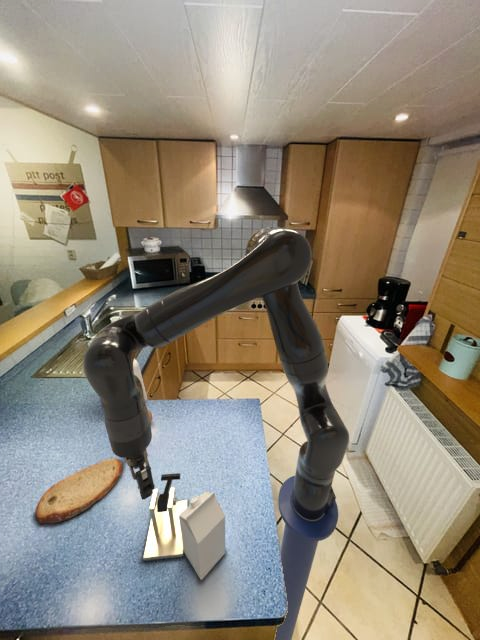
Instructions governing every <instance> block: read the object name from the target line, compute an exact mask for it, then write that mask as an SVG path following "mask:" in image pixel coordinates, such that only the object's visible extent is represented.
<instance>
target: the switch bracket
mask: <svg viewBox="0 0 480 640" xmlns="http://www.w3.org/2000/svg"><path fill="white" fill-rule="evenodd" d="M152 492H153V493H152V495H151V499H150V501H149V513H150V514H149V515H150V522H149V527H148V530H147V531H148V532H147V536H146V542H145V546H144V551H143V557H142V560H143V561H144V562H145V561H155V560H165V559H173V558H182V557H184V550H183V543H182V535H181V528H180V520H179V514H181V513H182V512H183V511H184V510H185V509H186V508H187V507H188V506H189V502H188V501H189V500H188V499H181V500H177V496H176V494H177V493H176V488H175V487H170V491H169V501H168V509H167V512H157V501H158V498H159V495H160V493H159V489H158V488H155V489H154V490H152Z"/></svg>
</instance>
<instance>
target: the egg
mask: <svg viewBox="0 0 480 640" xmlns="http://www.w3.org/2000/svg"><path fill="white" fill-rule="evenodd" d="M147 410H148V415H149V421H150V424H151V423H152V420H153V414H152V412H151V411H150V410H149V409H148V408H147Z"/></svg>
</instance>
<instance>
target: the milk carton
mask: <svg viewBox="0 0 480 640" xmlns="http://www.w3.org/2000/svg"><path fill="white" fill-rule="evenodd" d="M179 520H180V528H181V535H182V543H183V554H185V557H186V558H187V559H188V561H189V563H190V565H191V567H193V569H194V572H196V574H197V576H198V578H199V579H200V580H201V581H202V580H204V578H205V577H206V576H207V575H208V574H209V572H211V570H212V569H213V568H214V567H215V566H216V565H217V563H218V562H219V561H220V560H221V558H222V557H224V555H225V554H226V515H225V513H224V511H223V508H222V507H221V505H220V502H219V501H218V499H217V496H216V493H215V491H213V492H208V491H204V492H203V493H202V494H201V495H200V496H199V495H196V496H194V497H192V498H191V500H190V501H189V504H188V506H187V508H186V509H185V510H184V511H183V512H182V513H181V514H179Z"/></svg>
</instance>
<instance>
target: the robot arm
mask: <svg viewBox="0 0 480 640" xmlns="http://www.w3.org/2000/svg"><path fill="white" fill-rule="evenodd" d="M312 259H313V253H312V247H311V244H310V242H309V239H307V238H306V237H305V236H304V235H303V234H302V233H301V232H299V231H297V230H295V229H291V228H289V227H288V228H287V227H281V226H280V227H278V226H266V227H262V228H260V229H258V230H255V232H254V233H252V234H251V236H250V238H249V239H248V241H247V243H246V246H245V253H244V256H243V257H241V259H239V260H238V261H237V262H235V263H233V264H232V265H231V266H229V267H227V268H225V269H223V270H222V271H220V272H218V273H215V274H214V275H211V276H210V277H207V278H205V279H201V280H199V281H197V282H194V283H192V284H189V285H186V286H184V287H181V288H179V289H177V290H174V291H173V292H171V293H169V294H167V295H165V296H163V297H162V298H160V299H158V300H157V301H155V302H153V303H152V304H150V305H148V306H146V307H145V308H144V309H142V310H141V311H139V312H135V313H132V314H129V315H127V316H125V317H122V318H119V319H116V320H115V321H112V322H111V323H109V324H108V325H106V326H104V327H103V328H101V330H99V331H98V332H97V334H95V336H94V338H93V340H92V341H91V343H90V344H89V346H88V347H87V349H86V350H85V353H84V354H83V355H84V356H83V361H82V362H83V363H82V364H83V371H84V375H85V378H86V379H87V381H88V383H89V385H90V386H91V388H92V389H93V390H94V392H95V394H96V395H97V396H98V397H99V400H100V404H101V408H102V412H103V416H104V425H105V426H104V427H105V429H106V433H107V437H108V440H109V444H110V447H111V451H112V453H113V454H114V455H115V456H117V457H118V458H123V459H125V462H126V465H127V467H129V471H130V473H131V477H132V479H133V480H134V481H136V484H137V490H139V495H140V498H141V500H146V499H148V498H150V497H152V495H153V490H154V489H156V486H155V483H154V478H153V474H152V467H151V465H150V462H149V459H148V457H149V454H148V451H147V448H148V447H149V445H150V444H151V441H152V439H153V433H152V427H151V423H150V421H149V415H148V410H149V409H148V407H147V404H146V401H145V400H144V394H143V389H142V385H141V382H140V380H139V378H138V377H137V376H135V375H134V371H133V361H134V359H135V357H136V354H137V353H138V352H140V351H142V350H143V349H144V348H147V347H150V348H152V349H160V348H163V347H165V346H167V345H170V344H171V343H173V342H175V341H177V340H178V339H180V338H182V337H183V336H185V335H186V334H189V333H190V332H191V331H194V330H195V329H197V328H199V327H200V326H202V325H204V324H206V323H208V322H210V321H211V320H213V319H216V318H218V317H219V316H222V315H223V314H225V313H228V312H229V311H232V310H234V309H235V308H238V307H240V306H243V305H245V304H247V303H250V302H252V301H254V300H257V299H260V298H261V299H262V301H263V304H264V307H265V310H266V314H267V317H268V321H269V326H270V330H271V334H272V338H273V341H274V344H275V348H276V351H277V355H278V358H279V361H280V364H281V367H282V370H283V372H284V374H285V377H286V379H287V381H288V383H289V384H290V387H291V388H292V390H293V391H294V394H295V398H296V402H297V407H298V413H299V414H298V415H299V421H300V425H301V428H302V430H303V433H304V436H305V438H306V441H304V442H302V444H301V445H300V447H299V450H298V455H297V460H296V461H297V462H296V467H295V473H294V476H295V479H294V484H293V490H292V494H291V504H292V507H293V509H294V511H295V513H296V514H297V515H298V516H299V517H300V518H302V519H303V520H305V521H308V522H316V521H319V520H320V519H321V518H322V517H323V516H324V514H328V510H329V507H330V504H334V503H335V501H336V499H337V496H336V494H335V492H334V489H333V487H332V485H333V482H334V478H335V474H336V471H337V469H338V468H339V467H340V466H341V465H342V463H343V461H344V458H345V455H346V453H347V450H348V447H349V443H350V433H349V431H348V430H349V429H348V428H347V427H346V425H345V423H344V421H343V419H342V418H341V416H340V414H339V413H338V410H337V409H336V407H335V405H334V404H333V402H332V399H331V398H330V397H331V396H330V394H329V391H328V389H327V383H326V381H327V378H328V373H329V362H328V361H329V360H328V357H327V351H326V347H325V343H324V339H323V337H322V333H321V331H320V329H319V327H318V325H317V323H316V321H315V319H314V318H313V315H312V314H311V312H310V310H309V308H308V307H307V304H306V303H305V301H304V299H303V297H302V293H301V291H300V288H299V281H300V280H301V279H303V277H305V275H306V274H307V272H309V271H308V270H309V269H310V267H311V264H312ZM147 409H148V410H147ZM135 470H137V471H135Z"/></svg>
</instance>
